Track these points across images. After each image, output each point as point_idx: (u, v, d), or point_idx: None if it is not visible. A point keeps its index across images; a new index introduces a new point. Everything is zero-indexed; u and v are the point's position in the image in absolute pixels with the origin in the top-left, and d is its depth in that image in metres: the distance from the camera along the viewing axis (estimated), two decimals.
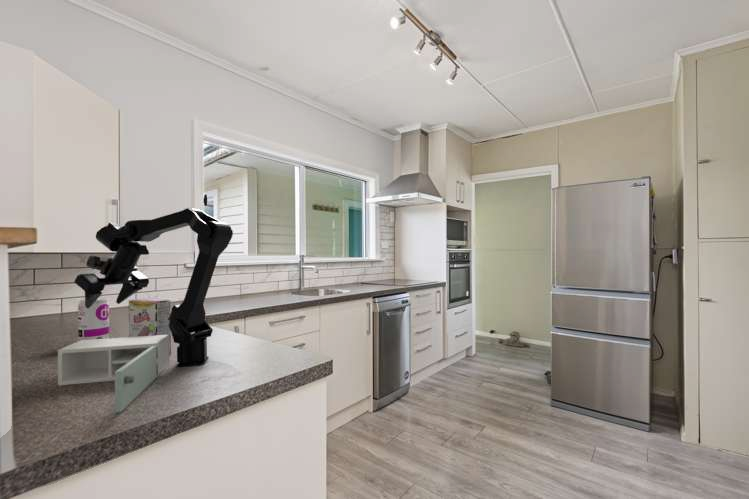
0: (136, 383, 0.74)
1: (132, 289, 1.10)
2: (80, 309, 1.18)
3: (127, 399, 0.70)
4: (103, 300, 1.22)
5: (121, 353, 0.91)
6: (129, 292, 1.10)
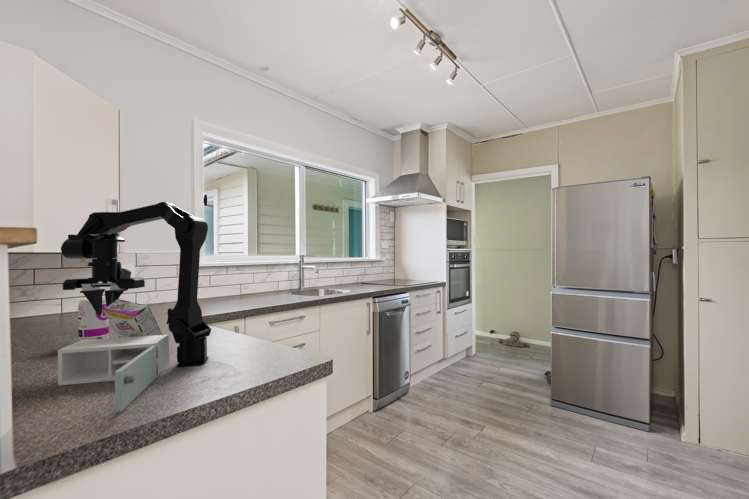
0: (136, 383, 0.74)
1: None
2: (80, 309, 1.18)
3: (127, 399, 0.70)
4: (103, 300, 1.22)
5: (121, 353, 0.91)
6: None
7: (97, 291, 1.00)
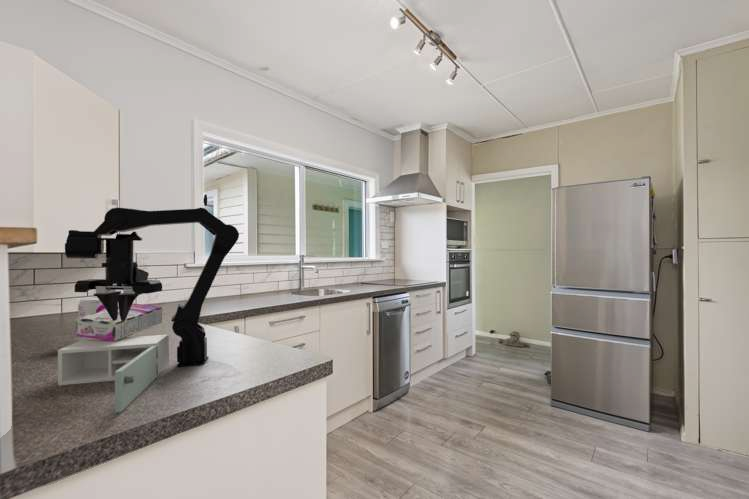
0: (136, 383, 0.74)
1: None
2: (80, 309, 1.18)
3: (127, 399, 0.70)
4: None
5: (121, 353, 0.91)
6: None
7: (113, 294, 0.91)
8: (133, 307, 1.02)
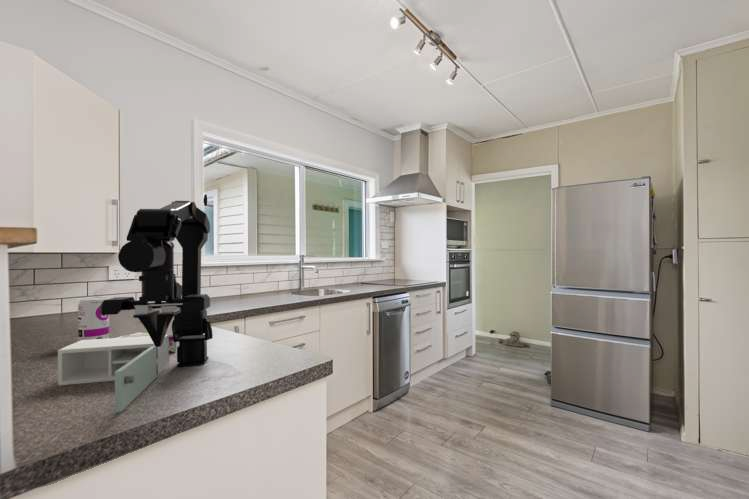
0: (136, 383, 0.74)
1: None
2: (80, 309, 1.18)
3: (127, 399, 0.70)
4: (103, 300, 1.22)
5: (121, 353, 0.91)
6: None
7: (154, 314, 0.74)
8: None
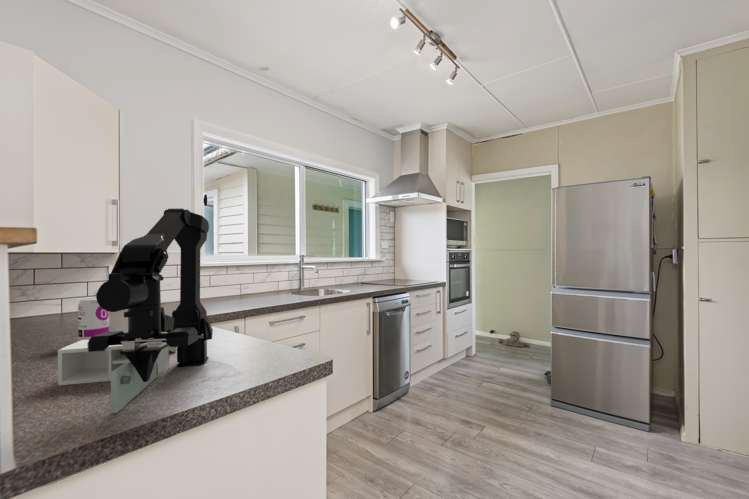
0: (134, 383, 0.74)
1: None
2: (80, 309, 1.18)
3: (124, 399, 0.70)
4: None
5: None
6: None
7: (142, 349, 0.74)
8: None
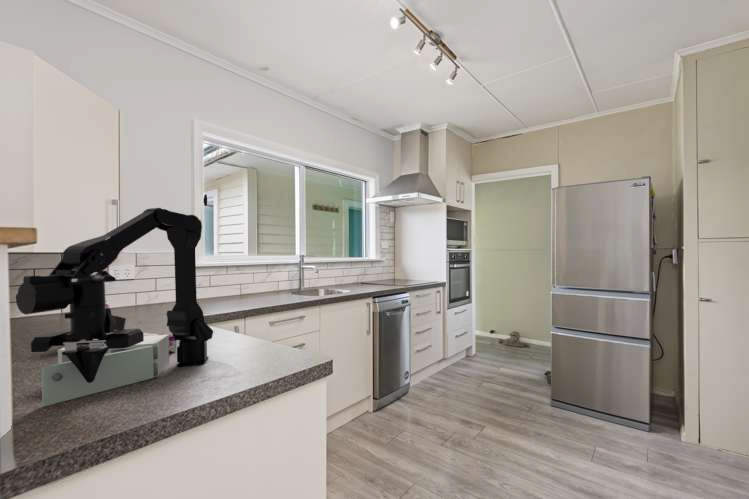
0: None
1: None
2: None
3: (62, 395, 0.72)
4: None
5: None
6: None
7: (86, 350, 0.74)
8: None
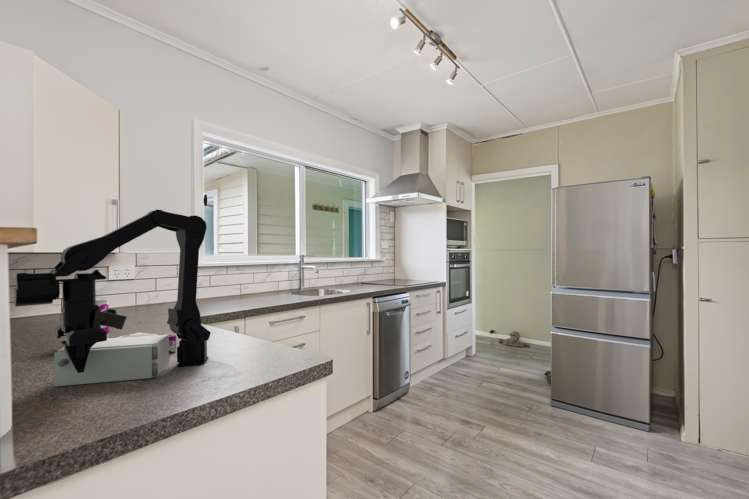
0: (92, 370, 0.83)
1: None
2: None
3: (69, 379, 0.82)
4: (103, 300, 1.22)
5: None
6: None
7: None
8: None
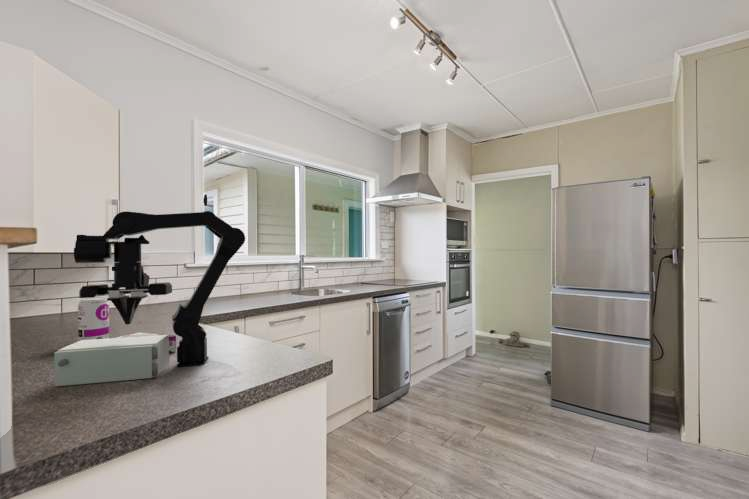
0: (92, 370, 0.83)
1: None
2: (80, 309, 1.18)
3: (69, 379, 0.82)
4: (103, 300, 1.22)
5: None
6: None
7: (125, 298, 0.91)
8: None
